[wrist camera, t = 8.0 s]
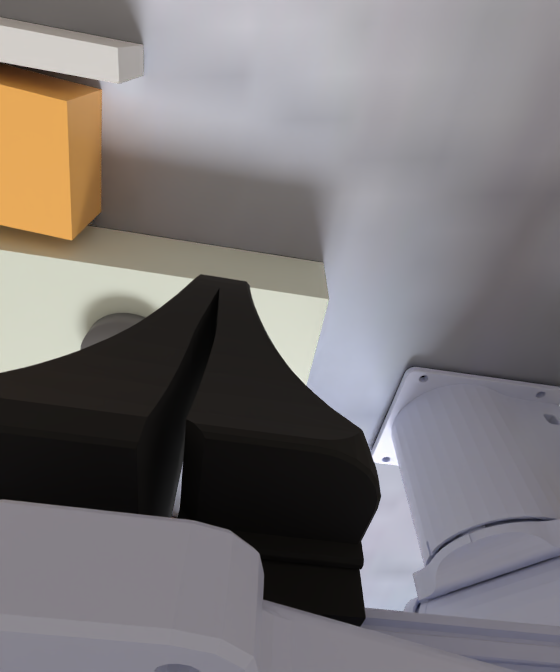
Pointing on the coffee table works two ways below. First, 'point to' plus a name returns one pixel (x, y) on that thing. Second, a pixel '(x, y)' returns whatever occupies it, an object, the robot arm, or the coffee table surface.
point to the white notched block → (127, 249)
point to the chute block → (49, 153)
